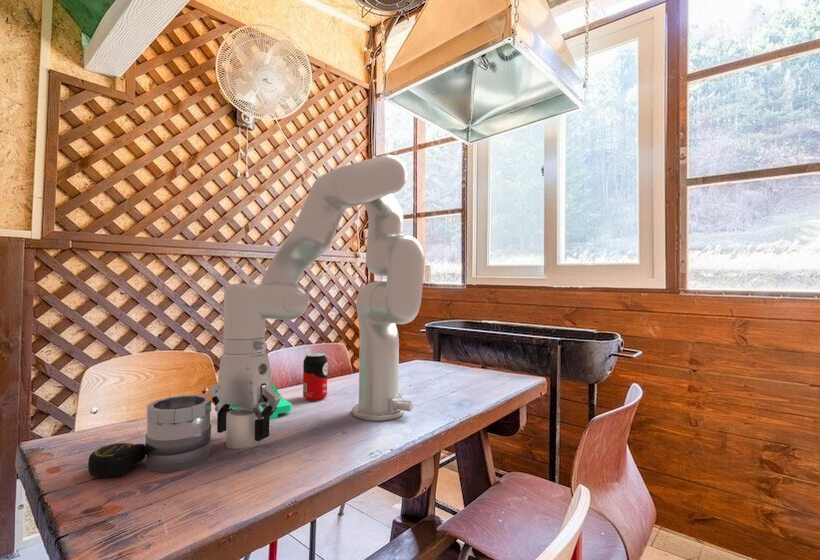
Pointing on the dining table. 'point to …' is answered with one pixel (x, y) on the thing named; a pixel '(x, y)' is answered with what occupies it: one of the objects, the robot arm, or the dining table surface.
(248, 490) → the dining table surface
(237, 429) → the cap
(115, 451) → the tape measure
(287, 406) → the camera mount
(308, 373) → the beverage can
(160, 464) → the grey hollow cylinder
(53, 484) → the dining table surface
